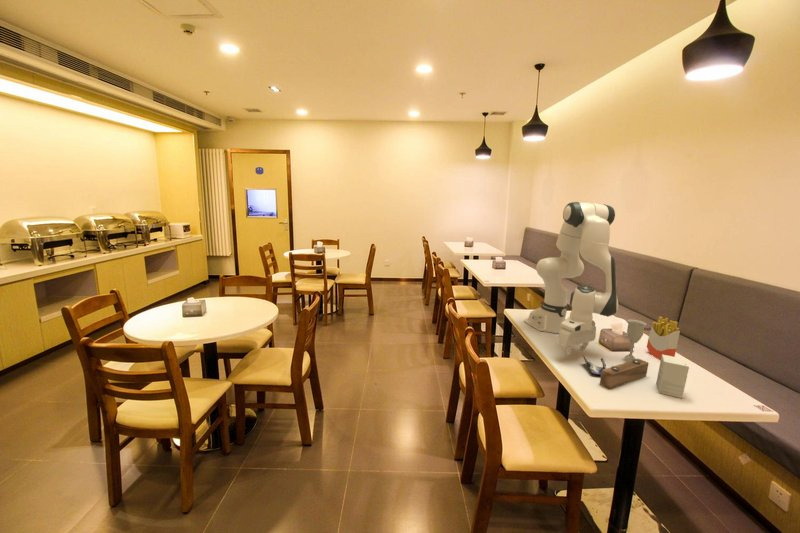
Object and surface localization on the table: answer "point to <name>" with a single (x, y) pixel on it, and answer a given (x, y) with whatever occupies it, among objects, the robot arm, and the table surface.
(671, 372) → the supplement box
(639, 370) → the bar
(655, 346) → the french fries container
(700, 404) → the table surface
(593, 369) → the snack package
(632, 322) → the chalice
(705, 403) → the table surface
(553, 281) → the robot arm
